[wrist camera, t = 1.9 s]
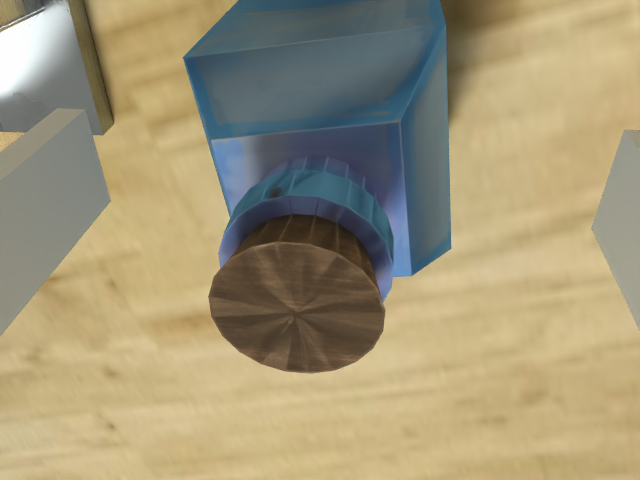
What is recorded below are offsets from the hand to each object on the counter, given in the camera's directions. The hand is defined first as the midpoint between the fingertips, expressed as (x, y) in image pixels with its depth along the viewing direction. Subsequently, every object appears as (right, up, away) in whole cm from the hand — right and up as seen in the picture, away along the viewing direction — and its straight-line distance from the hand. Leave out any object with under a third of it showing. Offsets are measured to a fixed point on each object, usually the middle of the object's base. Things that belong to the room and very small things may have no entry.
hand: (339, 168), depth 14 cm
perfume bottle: (0, +4, +6) cm, 7 cm away
